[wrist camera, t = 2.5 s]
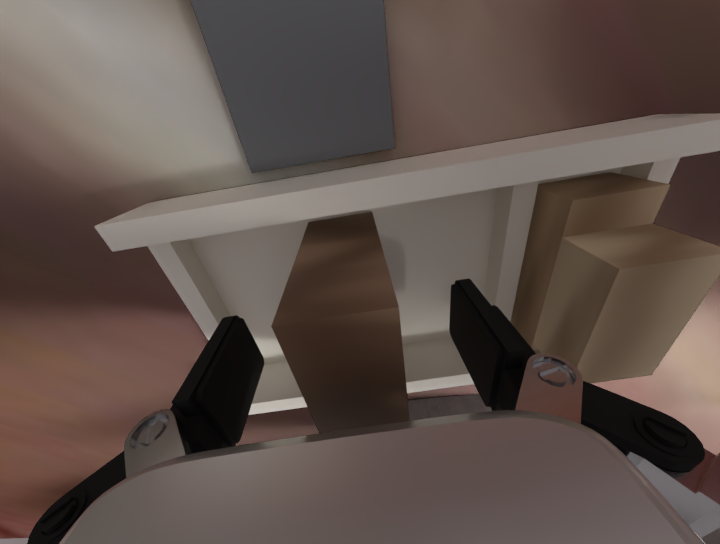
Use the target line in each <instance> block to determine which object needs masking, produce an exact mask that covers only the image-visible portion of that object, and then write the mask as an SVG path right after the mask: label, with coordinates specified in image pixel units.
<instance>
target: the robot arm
mask: <svg viewBox="0 0 720 544" xmlns="http://www.w3.org/2000/svg"><path fill="white" fill-rule="evenodd" d="M449 331H450V335H451V338H452V340H453V342H454V344H455V346H456V348H457V350H458V352H459V354H460V356H461V358H462V360H463V362H464V364H465V366H466V368H467V370H468V372H469V374H470V376H471V378H472V380H473V382H474V384H475V386H476V388H477V390H478V392H479V394H480V396H481V398H482V400H483V402H484V404H485V406H486V407H491V409H492V411H485V412H476V413H467V414H459V415H451V416H442V417H435V418H428V419H420V420H413V421H406V422H398V423H391V424H384V425H377V426H370V427H363V428H356V429H349V430H342V431H335V432H328V433H321V434H314V435H307V436H300V437H293V438H286V439H280V440H273V441H266V442H260V443H253V444H246V445H239V446H235V445H236V443H238V442H239V441H240V439H241V436H242V433H243V430H244V427H245V423H246V420H247V417H248V414H249V411H250V408H251V405H252V402H253V398H254V395H255V392H256V389H257V386H258V383H259V380H260V376H261V373H262V370H263V367H264V358H263V356H262V354H261V352H260V350H259V348H258V346H257V344H256V342H255V340H254V338H253V336H252V334H251V332H250V330H249V328H248V326H247V325H246V323H245V321H244V319H243V318H240V317H239V316H237V315H235V316H229V317H224V318H222V320H221V321H220V323H219V325H218V326H217V328H216V330H215V331H214V333H213V335H212V336H211V338H210V340H209V341H208V343H207V345H206V346H205V348H204V350H203V351H202V353H201V354H200V356H199V358H198V359H197V361H196V363H195V364H194V366H193V368H192V369H191V371H190V373H189V374H188V376H187V378H186V379H185V381H184V383H183V384H182V386H181V388H180V389H179V391H178V393H177V394H176V396H175V398H174V399H173V401H172V404H173V406H172V407H171V409H170V410H168V409H162V410H159V411H156V412H154V413H152V414H150V415H148V416H147V417H145V418H144V419H143V420H141V421H140V422H139V423H138V424H137V425H136V426H135V427H134V428H133V429H132V431H131V432H130V433H129V435H128V436H127V438H126V441H125V444H124V451H123V452H122V453H120V454H119V455H118V456H116V457H115V458H114V459H112V460H111V461H110V462H108V463H107V464H106V465H104V466H103V467H101V468H100V469H99V470H97V471H96V472H95V473H93V474H92V475H91V476H89V477H88V478H87V479H85V480H84V481H83V482H81V483H80V484H78V485H77V486H76V487H74V488H73V489H72V490H70V491H69V492H68V493H66V494H65V495H64V496H62V497H61V498H60V499H59V500H57V501H56V502H55V503H54V504H53V505H52V506H51V507H50V508H49V509H48V510H47V511H46V512H45V513H44V514H43V515H42V517H41V518H40V519H39V521H38V522H37V523H36V525H35V526H34V528H33V530H32V532H31V534H30V536H29V540H28V543H27V544H704V543H703V542H702V541H701V540H700V538H699V537H698V536H697V535H696V534H695V533H697V534H698V535H699V536H700V537H701V538H702V539H703V541H704V542H705V543H706V544H720V453H718V454H717V455H715V454H713V453H711V452H710V451H708V450H706V449H704V448H703V445H702V443H701V442H700V440H699V439H698V438H697V436H696V435H695V434H694V433H693V432H692V431H691V430H689V429H688V428H687V427H686V426H685V425H683V424H682V423H680V422H679V421H677V420H676V419H674V418H673V417H670V416H668V415H666V414H664V413H662V412H660V411H657V410H655V409H652V408H650V407H647V406H645V405H642V404H640V403H637V402H635V401H632V400H630V399H627V398H625V397H622V396H620V395H617V394H615V393H613V392H610V391H608V390H605V389H603V388H600V387H598V386H595V385H593V384H590V383H588V382H585V381H583V379H582V375H581V373H580V372H579V370H578V369H577V368H576V367H575V366H574V365H573V364H572V363H570V362H569V361H567V360H566V359H564V358H562V357H559V356H557V355H553V354H549V353H539V354H536V353H535V352H534V350H533V349H532V348H531V347H530V345H529V344H528V343H527V342H526V341H525V339H524V338H523V337H522V336H521V334H520V333H519V332H518V331H517V330H516V328H515V327H514V326H513V325H512V324H511V322H510V321H509V320H508V319H507V317H506V316H505V315H504V314H503V313H502V311H501V310H500V309H499V308H498V307H497V306H495V305H491V304H490V303H489V302H488V301H487V299H486V298H485V297H484V296H483V294H482V293H481V292H480V291H479V289H478V288H477V287H476V285H475V284H474V283H473V282H472V280H471V279H469V278H468V279H462V280H456V281H455V284H452V285H451V297H450V324H449ZM694 532H695V533H694Z"/></svg>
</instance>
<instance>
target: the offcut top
mask: <svg viewBox="0 0 720 544" xmlns="http://www.w3.org/2000/svg"><path fill="white" fill-rule="evenodd" d="M719 275H720V246H717V245H714V244H711V243H708V242H705V241H703V240H700V239H697V238H694V237H691V236H688V235H685V234H682V233H679V232H676V231H673V230H671V229H668V228H665V227H662V226H659V225H656V224H653V223H652V224H646V225H639V226H633V227H627V228H620V229H614V230H608V231H601V232H595V233H589V234H582V235H576V236H569V237H563V238H562V240H561V244H560V247H559V251H558V255H557V258H556V262H555V265H554V269H553V273H552V276H551V280H550V283H549V287H548V290H547V294H546V298H545V301H544V305H543V308H542V312H541V316H540V319H539V323H538V326H537V330H536V334H535V337H534V341H533V344H534V345H535V346H536V347H537V349H538V350H539V351H540V352H541V353H549V354H553V355H557V356H559V357H562V358H564V359H566V360H567V361H569V362H570V363H572V364H573V365H574V366H575V367H576V368H577V369H578V370H579V372H580V373H581V375H582V379H583V381H585V382H588V383H596V382H604V381H611V380H618V379H626V378H633V377H641V376H648V375H652V374H653V372H654V371H655V369H656V368H657V366H658V365H659V363H660V362H661V360H662V359H663V357H664V356H665V354H666V353H667V352H668V350H669V349H670V347H671V346H672V344H673V343H674V341H675V340H676V338H677V337H678V335H679V334H680V333H681V331H682V330H683V328H684V327H685V325H686V324H687V322H688V321H689V319H690V318H691V316H692V315H693V313H694V312H695V311H696V309H697V308H698V306H699V305H700V303H701V302H702V300H703V299H704V297H705V296H706V294H707V293H708V291H709V290H710V289H711V287H712V286H713V284H714V283H715V281H716V280H717V278H718V277H719Z"/></svg>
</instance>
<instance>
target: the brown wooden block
mask: <svg viewBox="0 0 720 544" xmlns="http://www.w3.org/2000/svg"><path fill="white" fill-rule="evenodd" d="M271 327H272V329H273V331H274V334H275V336H276V338H277V340H278V342H279V345H280V347H281V349H282V351H283V353H284V356H285V358H286V360H287V362H288V365H289V367H290V369H291V371H292V373H293V376H294V378H295V380H296V382H297V385H298V387H299V389H300V391H301V393H302V396H303V398H304V400H305V402H306V405H307V407H308V409H309V411H310V413H311V416H312V418H313V420H314V422H315V424H316V427H317V429H318V431H319V433H320V434H321V433H328V432H335V431H342V430H349V429H356V428H363V427H370V426H377V425H384V424H391V423H398V422H406V421H410V418H409V408H408V397H407V387H406V377H405V366H404V356H403V345H402V335H401V324H400V314H399V306H398V302H397V299H396V295H395V292H394V288H393V284H392V281H391V277H390V274H389V270H388V267H387V263H386V260H385V256H384V252H383V249H382V245H381V242H380V238H379V235H378V231H377V227H376V224H375V220H374V217H373V213H372V212H366V213H360V214H354V215H348V216H342V217H336V218H330V219H324V220H318V221H312V222H308V225H307V228H306V231H305V233H304V236H303V239H302V242H301V245H300V247H299V250H298V253H297V256H296V259H295V261H294V264H293V267H292V270H291V273H290V275H289V278H288V281H287V284H286V286H285V289H284V292H283V295H282V298H281V300H280V303H279V306H278V309H277V312H276V314H275V317H274V320H273V323H272V326H271Z"/></svg>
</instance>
